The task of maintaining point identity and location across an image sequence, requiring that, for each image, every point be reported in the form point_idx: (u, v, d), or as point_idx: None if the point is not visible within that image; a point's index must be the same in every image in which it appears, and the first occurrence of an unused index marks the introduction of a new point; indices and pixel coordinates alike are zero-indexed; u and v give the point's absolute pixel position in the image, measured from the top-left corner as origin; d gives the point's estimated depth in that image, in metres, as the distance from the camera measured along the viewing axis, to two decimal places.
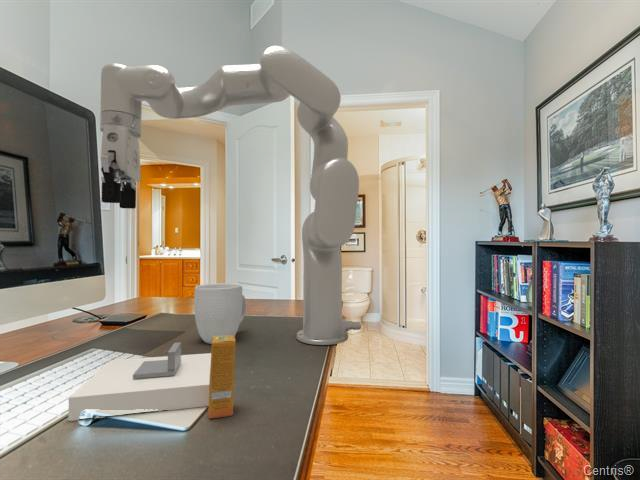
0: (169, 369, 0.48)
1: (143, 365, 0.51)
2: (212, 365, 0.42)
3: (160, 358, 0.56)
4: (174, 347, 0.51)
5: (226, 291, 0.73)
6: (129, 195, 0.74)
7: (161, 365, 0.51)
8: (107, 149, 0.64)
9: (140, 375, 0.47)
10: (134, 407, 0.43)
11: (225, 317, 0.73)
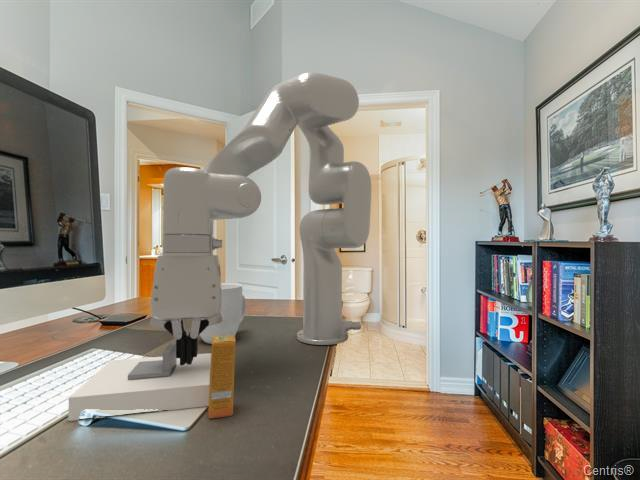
0: (164, 369, 0.48)
1: (138, 365, 0.51)
2: (212, 365, 0.42)
3: (160, 358, 0.56)
4: (169, 347, 0.51)
5: (226, 291, 0.73)
6: None
7: (156, 365, 0.51)
8: (220, 287, 0.52)
9: (135, 375, 0.47)
10: (134, 407, 0.43)
11: (225, 317, 0.73)
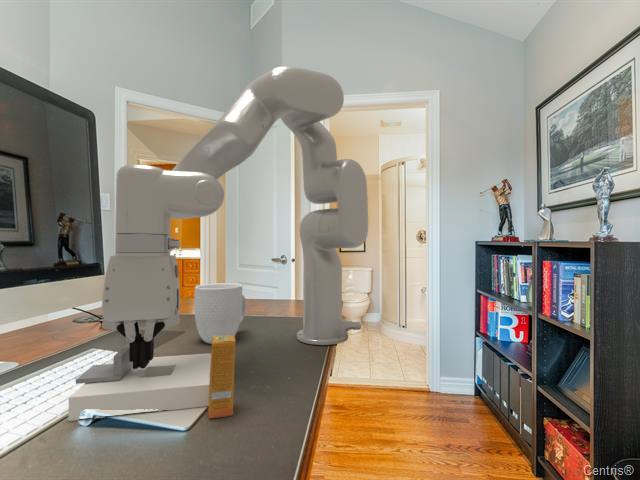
0: (115, 373, 0.47)
1: (90, 369, 0.49)
2: (212, 365, 0.42)
3: (160, 358, 0.56)
4: (123, 350, 0.49)
5: (226, 291, 0.73)
6: None
7: (110, 369, 0.49)
8: (176, 288, 0.50)
9: (83, 380, 0.46)
10: (134, 407, 0.43)
11: (225, 317, 0.73)
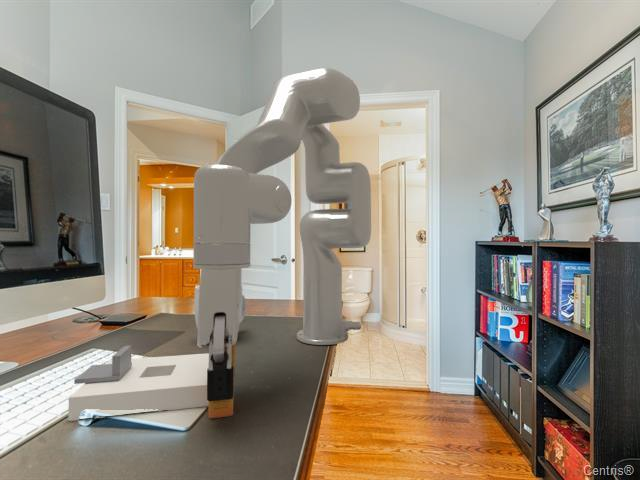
0: (114, 373, 0.47)
1: (89, 369, 0.49)
2: None
3: (160, 358, 0.56)
4: (121, 350, 0.49)
5: None
6: None
7: (108, 369, 0.49)
8: None
9: (82, 380, 0.46)
10: (134, 407, 0.43)
11: None
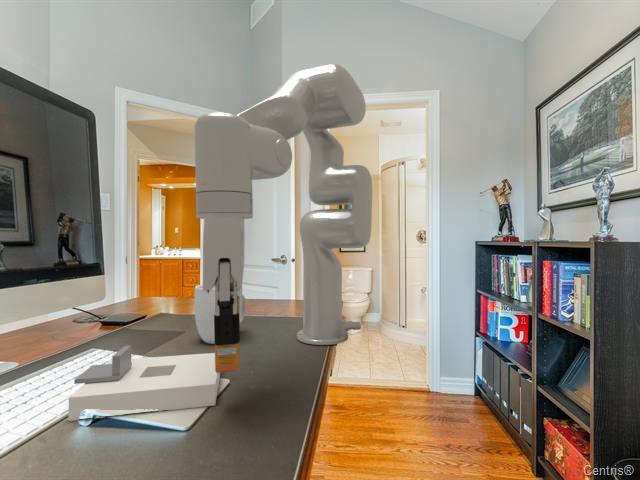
0: (114, 373, 0.47)
1: (89, 369, 0.49)
2: None
3: (160, 358, 0.56)
4: (121, 350, 0.49)
5: None
6: None
7: (108, 369, 0.49)
8: None
9: (82, 380, 0.46)
10: (134, 407, 0.43)
11: None
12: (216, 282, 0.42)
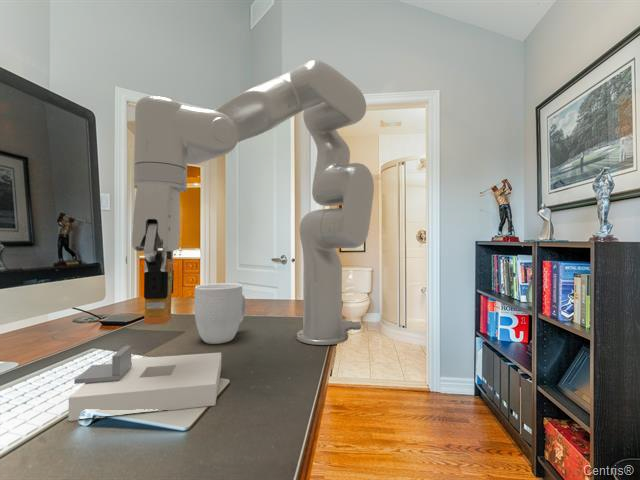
0: (114, 373, 0.47)
1: (89, 369, 0.49)
2: None
3: (160, 358, 0.56)
4: (121, 350, 0.49)
5: (226, 291, 0.73)
6: None
7: (108, 369, 0.49)
8: None
9: (82, 380, 0.46)
10: (134, 407, 0.43)
11: (225, 317, 0.73)
12: None
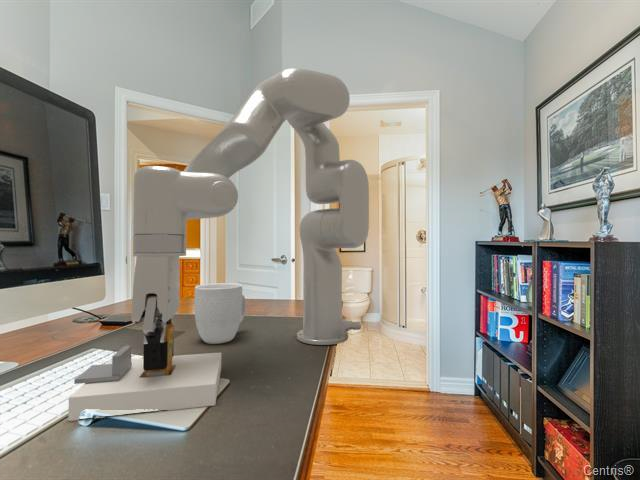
0: (114, 373, 0.47)
1: (89, 369, 0.49)
2: None
3: None
4: (121, 350, 0.49)
5: (226, 291, 0.73)
6: None
7: (108, 369, 0.49)
8: None
9: (82, 380, 0.46)
10: (134, 407, 0.43)
11: (225, 317, 0.73)
12: None
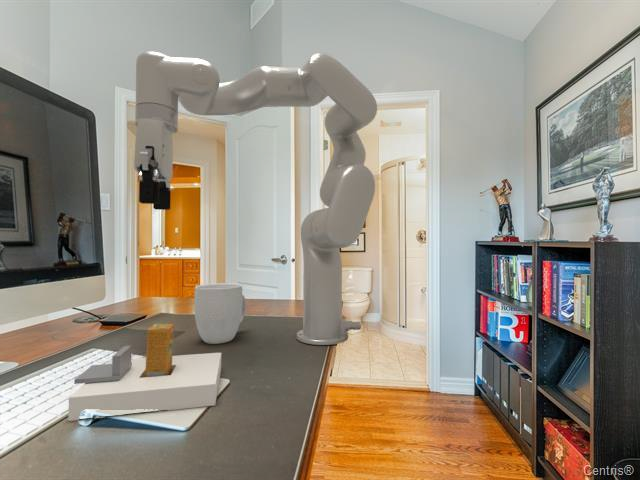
0: (114, 373, 0.47)
1: (89, 369, 0.49)
2: (148, 349, 0.49)
3: None
4: (121, 350, 0.49)
5: (226, 291, 0.73)
6: None
7: (108, 369, 0.49)
8: None
9: (82, 380, 0.46)
10: (134, 407, 0.43)
11: (225, 317, 0.73)
12: None
